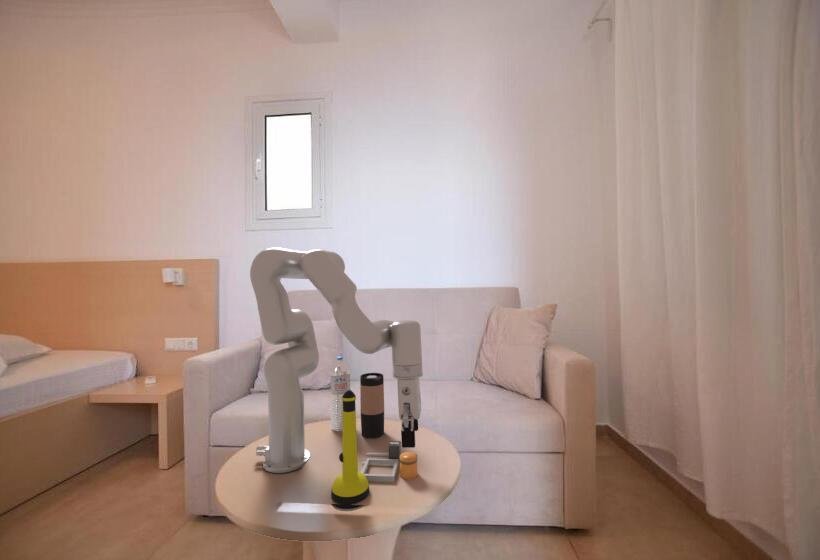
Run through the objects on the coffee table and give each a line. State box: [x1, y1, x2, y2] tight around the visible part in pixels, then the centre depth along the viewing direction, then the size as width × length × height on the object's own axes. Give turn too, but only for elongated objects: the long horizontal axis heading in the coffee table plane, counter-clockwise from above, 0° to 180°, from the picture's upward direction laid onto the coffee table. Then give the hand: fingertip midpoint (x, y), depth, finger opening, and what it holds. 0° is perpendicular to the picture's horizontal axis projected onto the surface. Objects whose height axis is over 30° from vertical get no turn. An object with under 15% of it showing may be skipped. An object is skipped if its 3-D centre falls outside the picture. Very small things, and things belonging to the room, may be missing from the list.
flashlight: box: [330, 389, 370, 512], centre depth 82 cm, size 25×9×9 cm
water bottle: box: [329, 356, 351, 432], centre depth 120 cm, size 7×7×25 cm
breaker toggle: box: [388, 440, 402, 464], centre depth 96 cm, size 3×3×5 cm
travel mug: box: [359, 372, 385, 440], centre depth 114 cm, size 8×8×20 cm
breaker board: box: [360, 452, 400, 483], centre depth 93 cm, size 14×14×3 cm
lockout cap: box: [399, 451, 418, 481], centre depth 89 cm, size 4×4×6 cm
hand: (410, 438), depth 89 cm, fingers open, 9 cm apart
